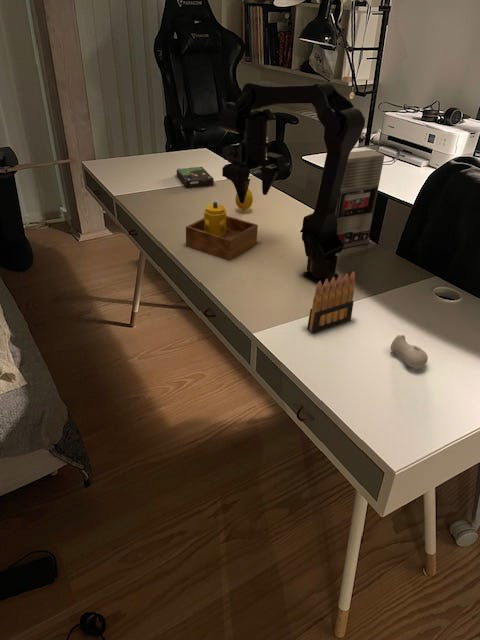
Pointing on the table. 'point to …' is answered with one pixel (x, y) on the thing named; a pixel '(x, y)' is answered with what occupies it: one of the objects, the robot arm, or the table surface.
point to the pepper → (215, 219)
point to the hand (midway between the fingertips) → (253, 198)
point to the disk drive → (195, 177)
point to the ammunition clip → (332, 304)
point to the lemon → (247, 201)
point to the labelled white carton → (358, 197)
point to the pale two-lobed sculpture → (409, 352)
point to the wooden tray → (223, 238)
